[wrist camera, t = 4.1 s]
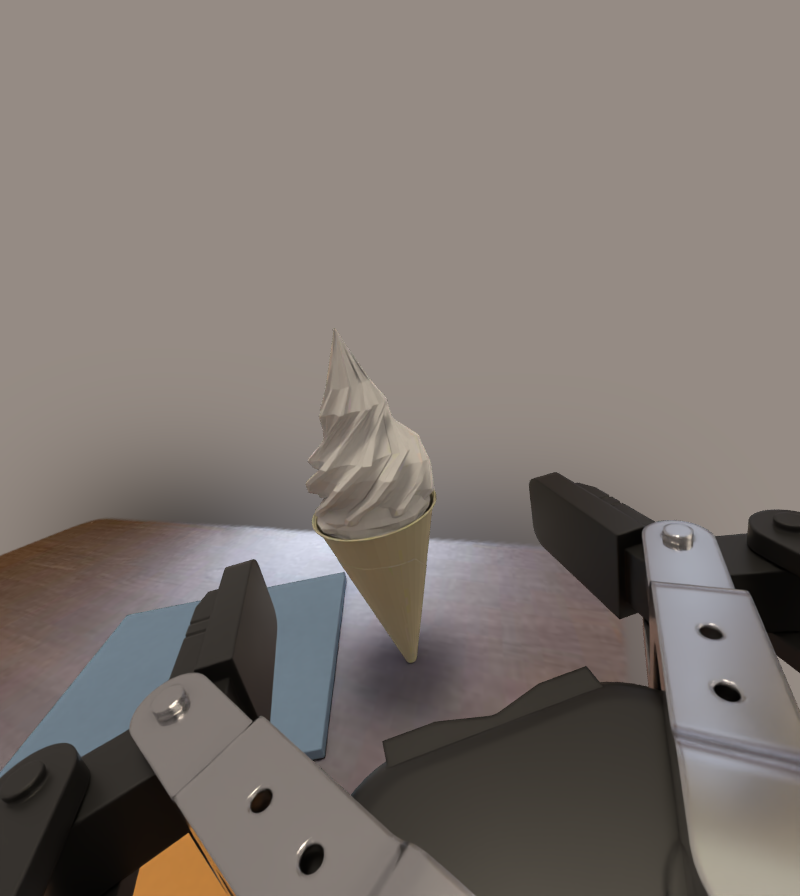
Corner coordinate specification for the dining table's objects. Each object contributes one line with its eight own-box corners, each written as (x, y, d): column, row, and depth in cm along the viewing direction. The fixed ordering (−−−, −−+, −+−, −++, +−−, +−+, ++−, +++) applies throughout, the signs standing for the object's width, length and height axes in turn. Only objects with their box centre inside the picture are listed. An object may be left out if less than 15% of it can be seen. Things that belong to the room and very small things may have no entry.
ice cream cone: (489, 649, 19) (433, 307, 14) (409, 734, 16) (303, 339, 11) (413, 605, 23) (348, 321, 18) (337, 667, 20) (234, 348, 15)
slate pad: (346, 578, 26) (344, 571, 26) (324, 757, 16) (321, 748, 16) (130, 621, 27) (127, 614, 27) (-30, 824, 16) (-36, 815, 16)
